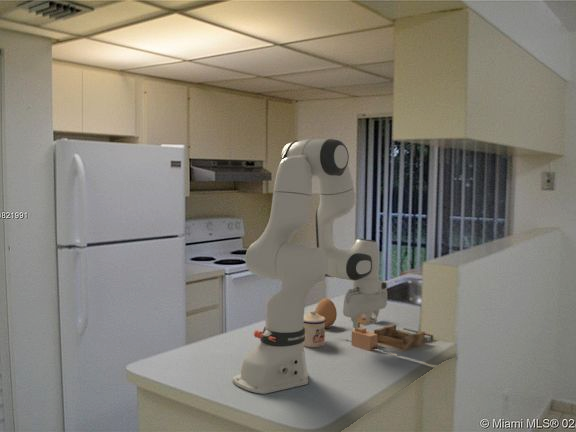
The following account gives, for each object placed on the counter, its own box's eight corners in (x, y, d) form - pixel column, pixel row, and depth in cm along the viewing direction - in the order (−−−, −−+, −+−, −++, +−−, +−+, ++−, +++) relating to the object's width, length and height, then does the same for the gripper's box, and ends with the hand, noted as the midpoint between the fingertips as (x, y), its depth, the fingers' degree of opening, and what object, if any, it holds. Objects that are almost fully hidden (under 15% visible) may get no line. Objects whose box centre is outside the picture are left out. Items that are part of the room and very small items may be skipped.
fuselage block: (369, 351, 184) (370, 333, 184) (351, 345, 190) (351, 328, 189) (377, 348, 187) (377, 330, 186) (358, 343, 193) (359, 325, 192)
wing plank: (427, 341, 191) (427, 337, 191) (398, 334, 200) (398, 330, 200) (430, 340, 193) (430, 336, 193) (402, 333, 202) (402, 329, 202)
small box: (351, 321, 221) (351, 295, 221) (360, 319, 225) (361, 294, 224) (366, 325, 215) (367, 299, 215) (375, 323, 219) (376, 297, 218)
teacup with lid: (316, 349, 184) (316, 315, 183) (293, 344, 189) (294, 311, 189) (334, 341, 194) (335, 308, 193) (312, 336, 199) (313, 305, 198)
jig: (403, 354, 181) (403, 339, 180) (371, 345, 190) (371, 330, 190) (435, 342, 194) (436, 328, 194) (404, 334, 204) (405, 321, 203)
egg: (337, 330, 208) (337, 301, 207) (315, 329, 208) (315, 300, 207) (335, 324, 216) (336, 296, 215) (314, 324, 216) (315, 296, 215)
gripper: (353, 291, 178) (353, 333, 179) (390, 282, 192) (389, 321, 193) (339, 288, 182) (338, 329, 184) (376, 280, 197) (375, 317, 198)
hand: (365, 325), depth 189 cm, fingers open, 8 cm apart
